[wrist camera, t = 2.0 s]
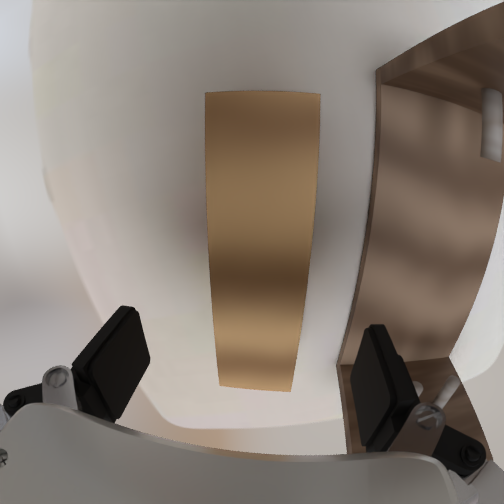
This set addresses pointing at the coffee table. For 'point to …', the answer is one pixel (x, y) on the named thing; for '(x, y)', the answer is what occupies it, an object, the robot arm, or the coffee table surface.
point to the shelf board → (260, 229)
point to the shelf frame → (431, 210)
